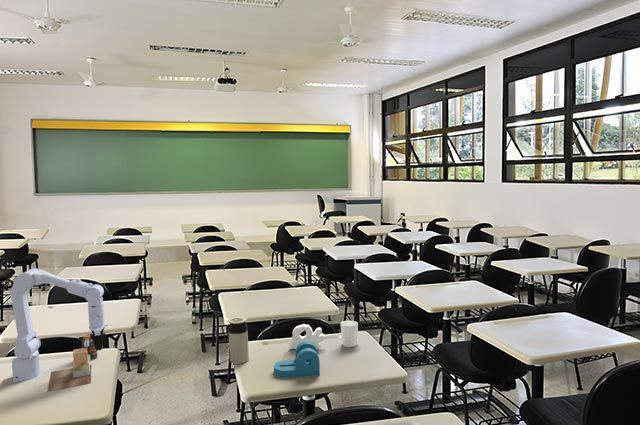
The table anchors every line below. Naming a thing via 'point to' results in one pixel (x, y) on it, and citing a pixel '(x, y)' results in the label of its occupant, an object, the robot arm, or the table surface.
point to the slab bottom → (81, 373)
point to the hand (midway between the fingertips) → (98, 347)
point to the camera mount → (300, 363)
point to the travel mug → (238, 340)
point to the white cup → (349, 333)
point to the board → (66, 380)
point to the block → (80, 356)
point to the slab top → (80, 366)
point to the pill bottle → (89, 347)
